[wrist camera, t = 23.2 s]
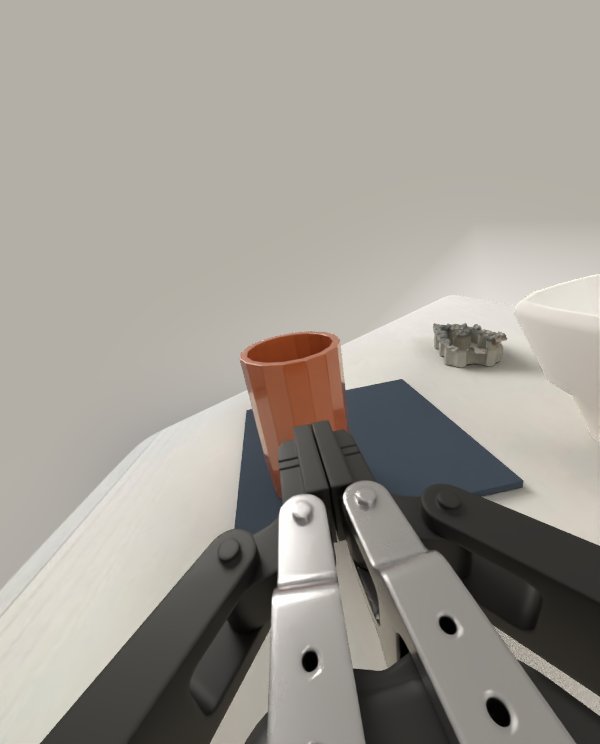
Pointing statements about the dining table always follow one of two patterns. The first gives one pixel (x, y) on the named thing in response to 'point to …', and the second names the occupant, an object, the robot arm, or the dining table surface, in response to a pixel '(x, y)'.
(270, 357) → the cup
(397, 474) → the mat
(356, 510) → the robot arm
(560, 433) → the dining table surface
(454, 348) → the grey jagged stone ring
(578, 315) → the bowl
